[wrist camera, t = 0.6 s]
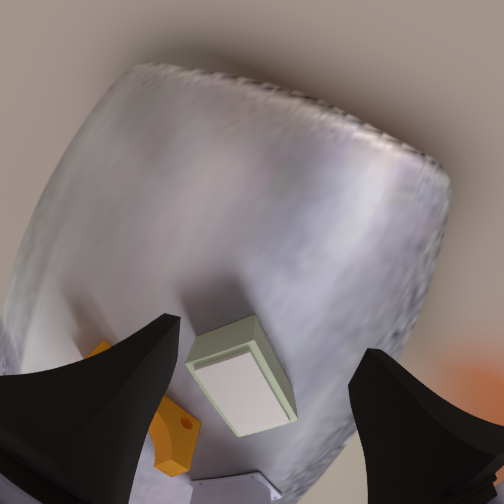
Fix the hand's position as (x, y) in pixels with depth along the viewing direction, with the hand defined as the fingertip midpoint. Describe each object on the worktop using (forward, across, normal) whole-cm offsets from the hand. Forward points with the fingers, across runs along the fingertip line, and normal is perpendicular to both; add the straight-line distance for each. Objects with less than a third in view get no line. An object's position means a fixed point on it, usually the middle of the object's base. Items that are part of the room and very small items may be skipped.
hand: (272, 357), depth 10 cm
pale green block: (+9, 0, +9) cm, 13 cm away
